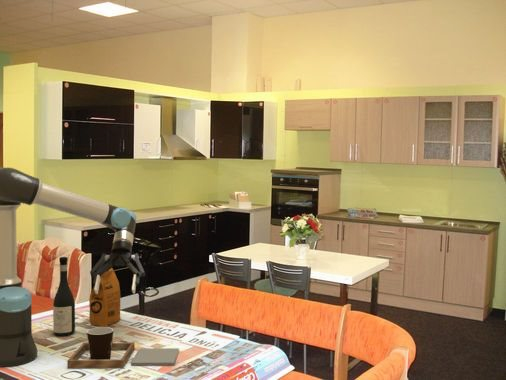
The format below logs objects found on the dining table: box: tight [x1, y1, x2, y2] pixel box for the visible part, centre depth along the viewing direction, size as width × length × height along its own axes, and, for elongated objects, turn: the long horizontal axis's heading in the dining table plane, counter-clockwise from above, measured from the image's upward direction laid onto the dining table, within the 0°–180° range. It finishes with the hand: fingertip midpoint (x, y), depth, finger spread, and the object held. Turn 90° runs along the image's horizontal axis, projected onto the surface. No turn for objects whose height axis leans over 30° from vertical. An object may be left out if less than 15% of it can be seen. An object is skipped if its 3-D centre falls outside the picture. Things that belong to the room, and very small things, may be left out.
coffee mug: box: [86, 326, 114, 360], centre depth 183 cm, size 12×9×10 cm
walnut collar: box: [66, 342, 136, 369], centre depth 183 cm, size 18×18×2 cm
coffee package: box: [88, 267, 121, 327], centre depth 225 cm, size 10×12×22 cm
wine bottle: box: [52, 256, 76, 337], centre depth 210 cm, size 8×8×30 cm
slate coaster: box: [130, 347, 180, 367], centre depth 183 cm, size 14×14×1 cm
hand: (114, 291), depth 198 cm, fingers open, 13 cm apart
